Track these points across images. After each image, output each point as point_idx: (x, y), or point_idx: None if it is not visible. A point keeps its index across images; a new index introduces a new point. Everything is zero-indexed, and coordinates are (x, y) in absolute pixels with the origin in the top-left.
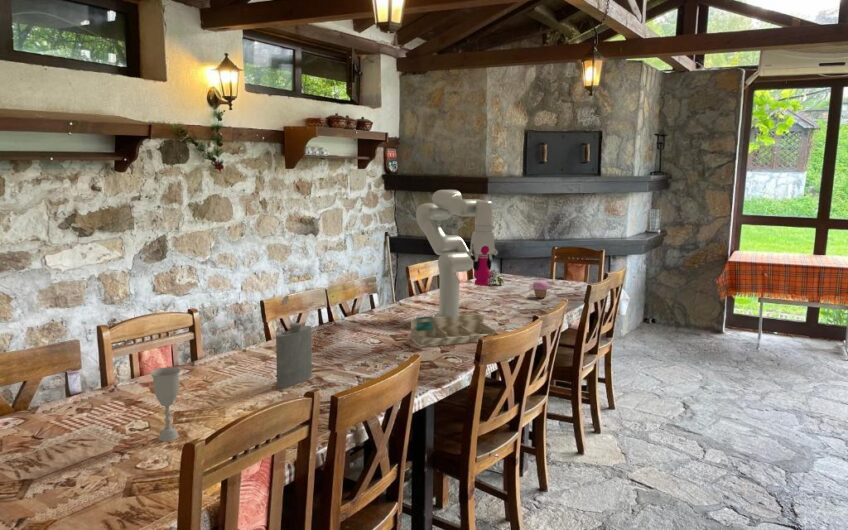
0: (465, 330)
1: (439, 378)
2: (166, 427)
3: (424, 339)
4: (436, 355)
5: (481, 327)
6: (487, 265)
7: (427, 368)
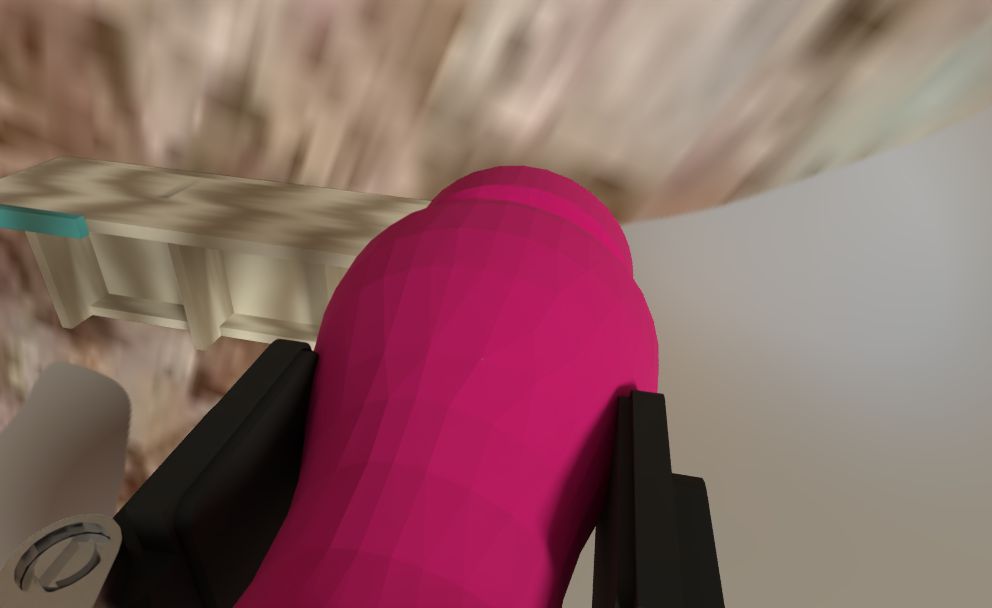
0: None
1: None
2: None
3: (101, 310)
4: (166, 415)
5: None
6: (603, 531)
7: (119, 499)
